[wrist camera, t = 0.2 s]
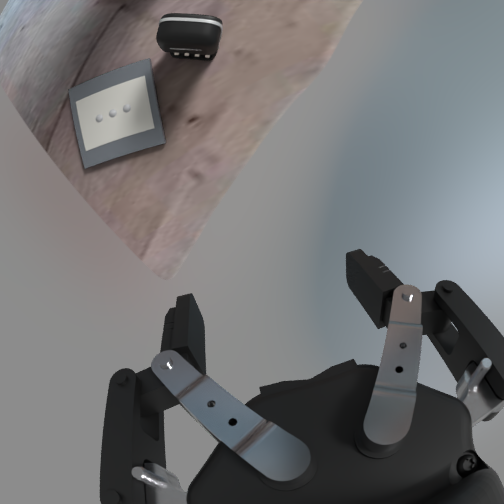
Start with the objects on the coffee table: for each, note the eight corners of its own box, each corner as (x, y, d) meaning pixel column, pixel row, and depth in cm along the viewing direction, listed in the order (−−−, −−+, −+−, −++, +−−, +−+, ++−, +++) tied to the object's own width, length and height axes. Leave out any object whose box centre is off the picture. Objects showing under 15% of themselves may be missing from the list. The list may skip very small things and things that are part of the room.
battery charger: (166, 62, 29) (149, 42, 19) (171, 39, 28) (157, 11, 18) (215, 66, 31) (217, 46, 21) (220, 43, 29) (225, 16, 19)
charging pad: (71, 90, 28) (68, 89, 27) (150, 59, 29) (149, 58, 28) (87, 167, 34) (84, 168, 33) (166, 142, 35) (164, 143, 34)
